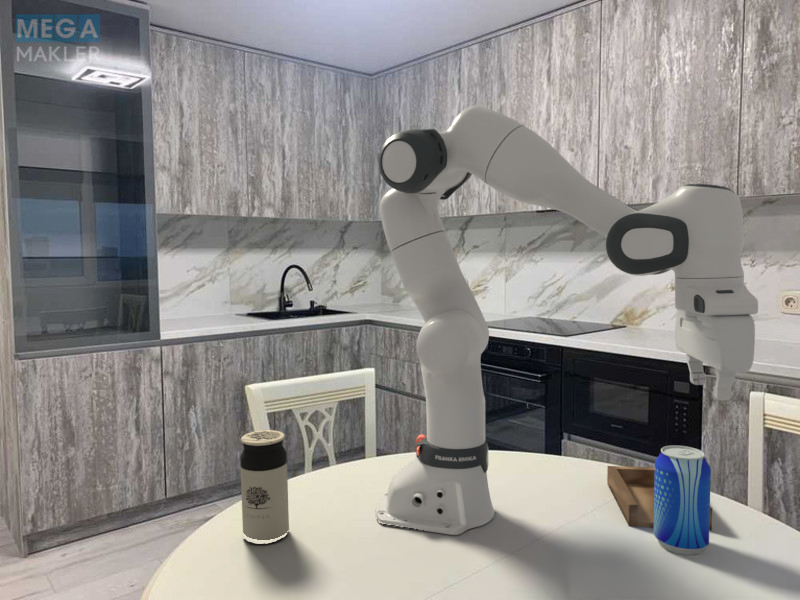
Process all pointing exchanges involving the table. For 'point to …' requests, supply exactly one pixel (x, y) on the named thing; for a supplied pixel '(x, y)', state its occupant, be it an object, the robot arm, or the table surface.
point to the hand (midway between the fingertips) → (709, 391)
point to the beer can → (682, 500)
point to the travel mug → (264, 485)
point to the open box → (635, 494)
